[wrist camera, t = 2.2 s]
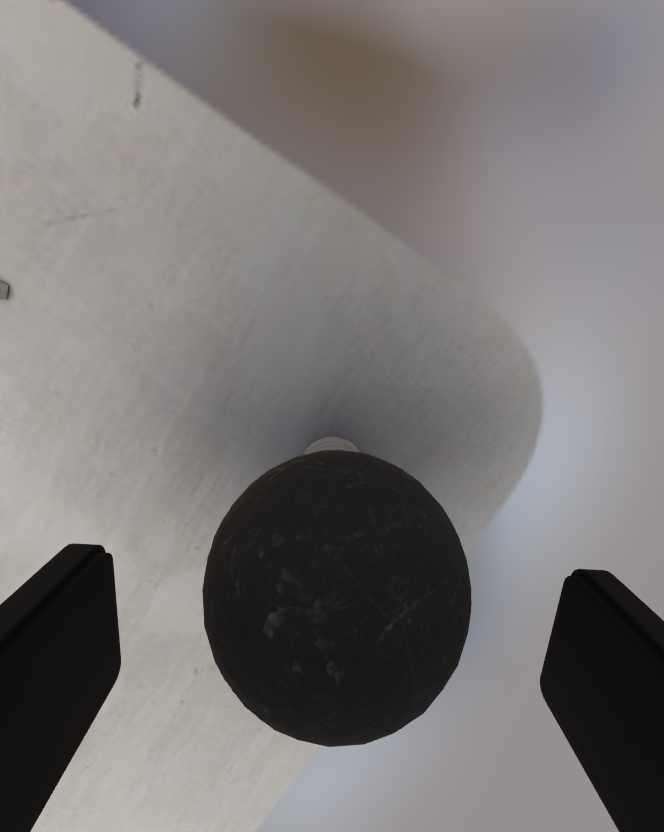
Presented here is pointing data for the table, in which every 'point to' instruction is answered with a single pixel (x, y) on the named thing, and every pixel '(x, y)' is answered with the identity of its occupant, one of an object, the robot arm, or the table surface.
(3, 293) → the pliers
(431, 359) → the table surface
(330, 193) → the table surface
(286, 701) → the light bulb
